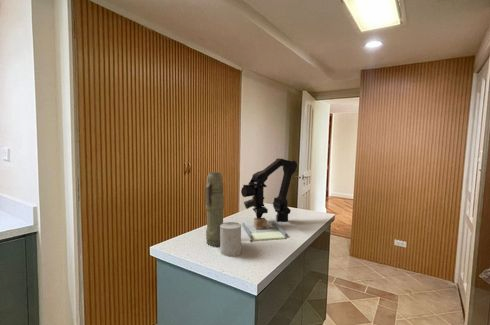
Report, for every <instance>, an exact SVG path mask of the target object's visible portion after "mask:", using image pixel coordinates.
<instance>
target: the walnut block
mask: <svg viewBox="0 0 490 325" xmlns="http://www.w3.org/2000/svg"><path fill="white" fill-rule="evenodd" d="M267 224H268V220H267V219H266V218H265V217H261V218H257V217H254V218H253V225H254V227H255V229H256V230H263V229H267V228H268V227H267Z"/></svg>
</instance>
